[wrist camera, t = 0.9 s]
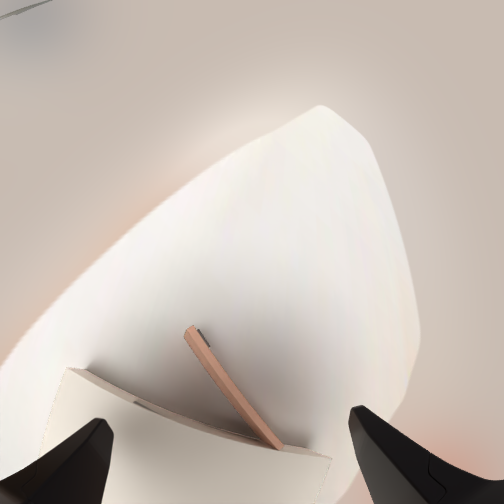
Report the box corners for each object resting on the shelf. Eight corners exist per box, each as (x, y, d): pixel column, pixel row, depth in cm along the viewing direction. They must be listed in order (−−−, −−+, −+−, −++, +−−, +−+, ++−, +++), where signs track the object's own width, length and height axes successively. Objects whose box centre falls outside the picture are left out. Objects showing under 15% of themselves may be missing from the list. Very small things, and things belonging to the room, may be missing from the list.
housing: (267, 537, 16) (286, 558, 11) (53, 469, 14) (33, 484, 9) (305, 447, 22) (332, 458, 17) (85, 369, 19) (66, 367, 15)
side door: (260, 439, 21) (278, 450, 17) (183, 337, 23) (186, 329, 19) (268, 434, 21) (287, 443, 17) (192, 332, 24) (196, 323, 20)
